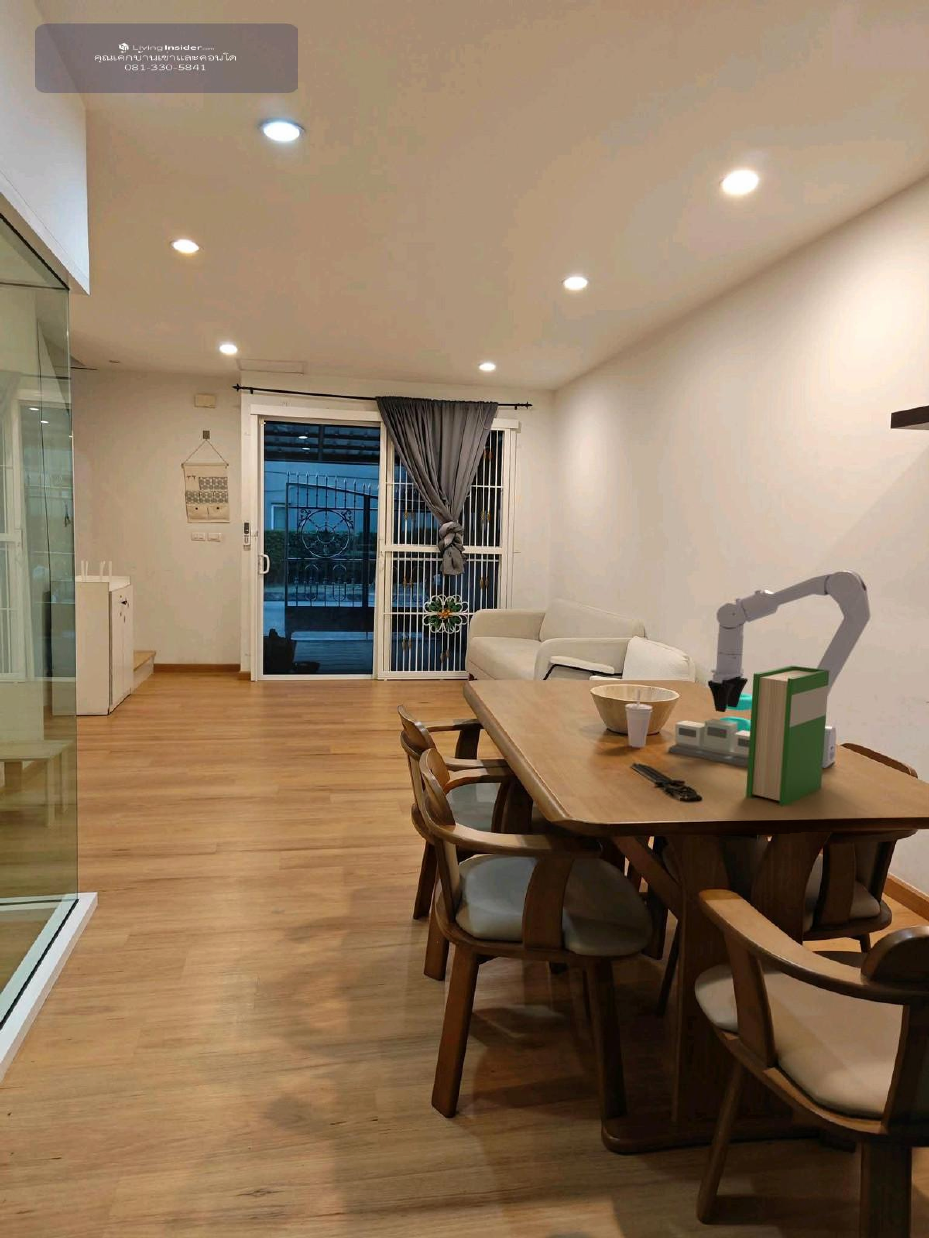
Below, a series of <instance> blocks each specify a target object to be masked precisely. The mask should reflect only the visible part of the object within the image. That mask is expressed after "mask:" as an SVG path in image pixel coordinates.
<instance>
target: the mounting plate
mask: <svg viewBox="0 0 929 1238" xmlns="http://www.w3.org/2000/svg"><path fill="white" fill-rule="evenodd" d="M704 728H705V723H702V722H695V721H690V720H686V719H685V720H682V721H679V722H677V723H675V731H674V734H675V735H674V742H675V744H673V745H672V746H669V747H668V752H670V753H675V754H680V755H685V756H690V757H694V756H695V758H699V759H705V760H709V761H714V762H715V761H716V762H720V763H725V764H729V765H734V766H737V767H738V766H739V767H745V768H748V756H749V740H750V731H744V730H742V731H740V732H737V733H735V734H734V749H733V750H732V751H730V752H727V751H722V750H717V749H711V748H706V747H703V745H704Z"/></svg>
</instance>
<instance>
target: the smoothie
mask: <svg viewBox="0 0 929 1238" xmlns="http://www.w3.org/2000/svg"><path fill="white" fill-rule="evenodd" d="M636 701H637V702H636V703H628V704H626V705H625V706H624V707H625V708H624V710H625V711H626V720H627V721H626V722H627V735H628V746H629V747H631V746H632V748H645V747H646V741H647V735H648V730H649V724H650V719H651V714H652V712H653V706H652V705H648V704H646V703H645V704H644V703H641V702H640V701H641V688H640V687H639V688H638V689H637V700H636Z"/></svg>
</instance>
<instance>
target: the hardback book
mask: <svg viewBox="0 0 929 1238" xmlns="http://www.w3.org/2000/svg"><path fill="white" fill-rule="evenodd" d="M752 677H753V679H752V694H751V695H752V708H751V709H750V712H751V713H750V721H751V724H750V740H749V756H748V767H747V771H746V772H747V776H746V790H745V797H746V798H750V799H751V798H754V797H756V796H760V797H762V798H763V797H764V798H767V799H770V800H774V801H777V802H778V803H779V804H778V805H779V806H780V805H781V806H780V807H783V806H785V807H786V805H787V806H789V805H791V804H793V803H794V802H796V801H798V800H800V799H802V798H804V797H806V796H808V795H810V794H813V792H816V791H817V790H820V789H822V781H823V780H822V777H823V767H822V766H823V752H824V738H825V724H826V721H827V707H828V697H829V695H828V682H829V670H822V669H817V668H814V667H813V668H812V667H806V666H805V667H804V666H797V665H789V666H784V667H779V668H775V669H774V668H773V669H770V670H766V671H765V670H764V671H760V672H755V673H753V676H752ZM827 696H828V697H827ZM826 725H827V724H826ZM792 802H793V803H792ZM788 804H789V805H788Z"/></svg>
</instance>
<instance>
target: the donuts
mask: <svg viewBox="0 0 929 1238" xmlns="http://www.w3.org/2000/svg"><path fill="white" fill-rule="evenodd" d="M751 708H752V694H748V693H744V692H743V693H741V696H740V699H739V702H738V705H737V707H736V708H735V707H728V705H727V708H726V710H730V711H742V712H743V711H751ZM718 720H724V721H730V722H736V723H738V726H737V732H740V731H742V730H744V731H750V724H751V720H749V719H746V718H743V717H739V716H738V717H736V716H726V717H721V718H719V719H718Z"/></svg>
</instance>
